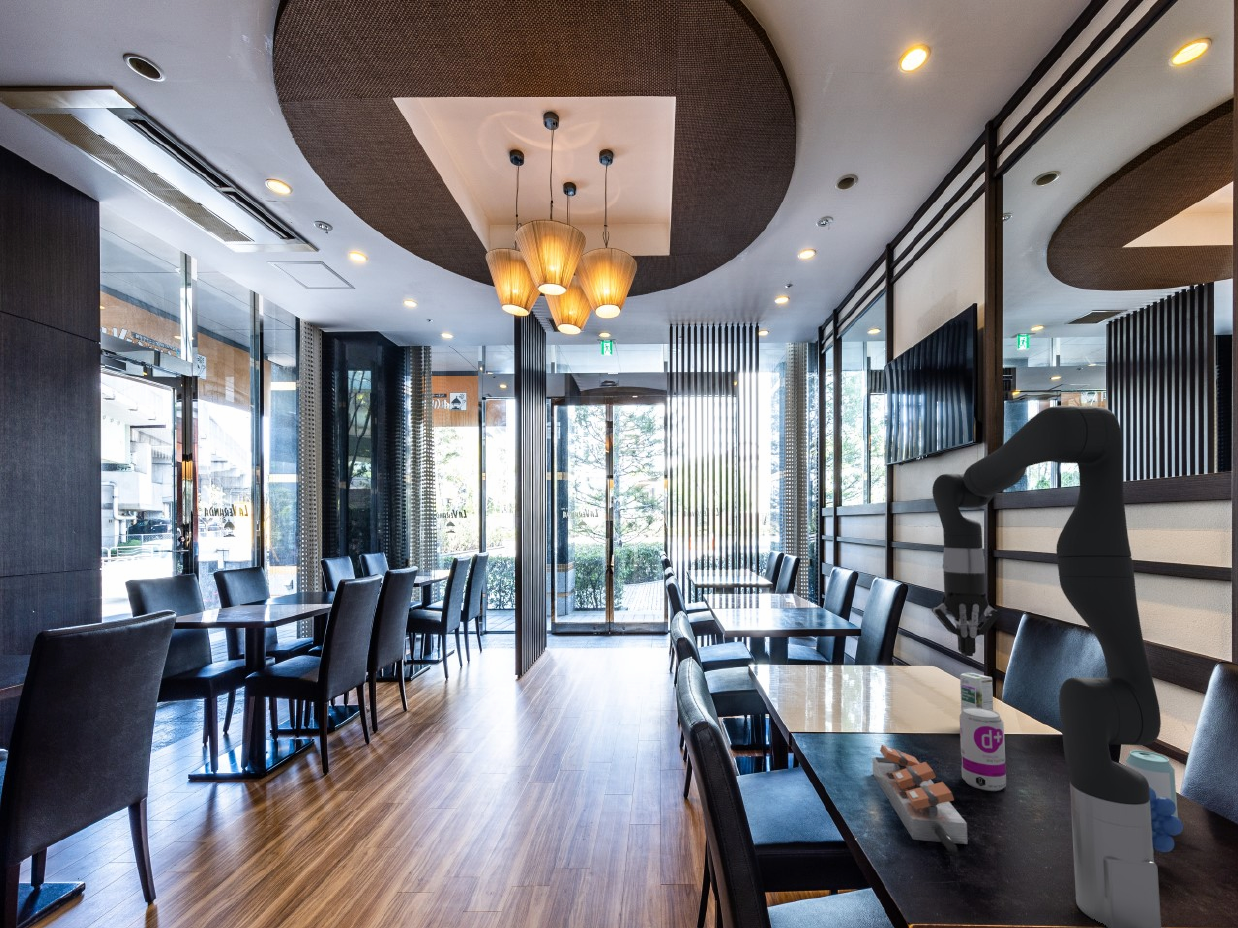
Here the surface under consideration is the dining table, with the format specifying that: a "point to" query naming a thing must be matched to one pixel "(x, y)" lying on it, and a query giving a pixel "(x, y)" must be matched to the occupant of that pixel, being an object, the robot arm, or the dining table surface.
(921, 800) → the block
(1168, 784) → the can
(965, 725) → the supplement can
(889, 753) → the rocker
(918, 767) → the rocker
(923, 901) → the dining table surface
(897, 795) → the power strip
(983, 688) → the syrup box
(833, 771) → the dining table surface
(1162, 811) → the grapes
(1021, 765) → the dining table surface
